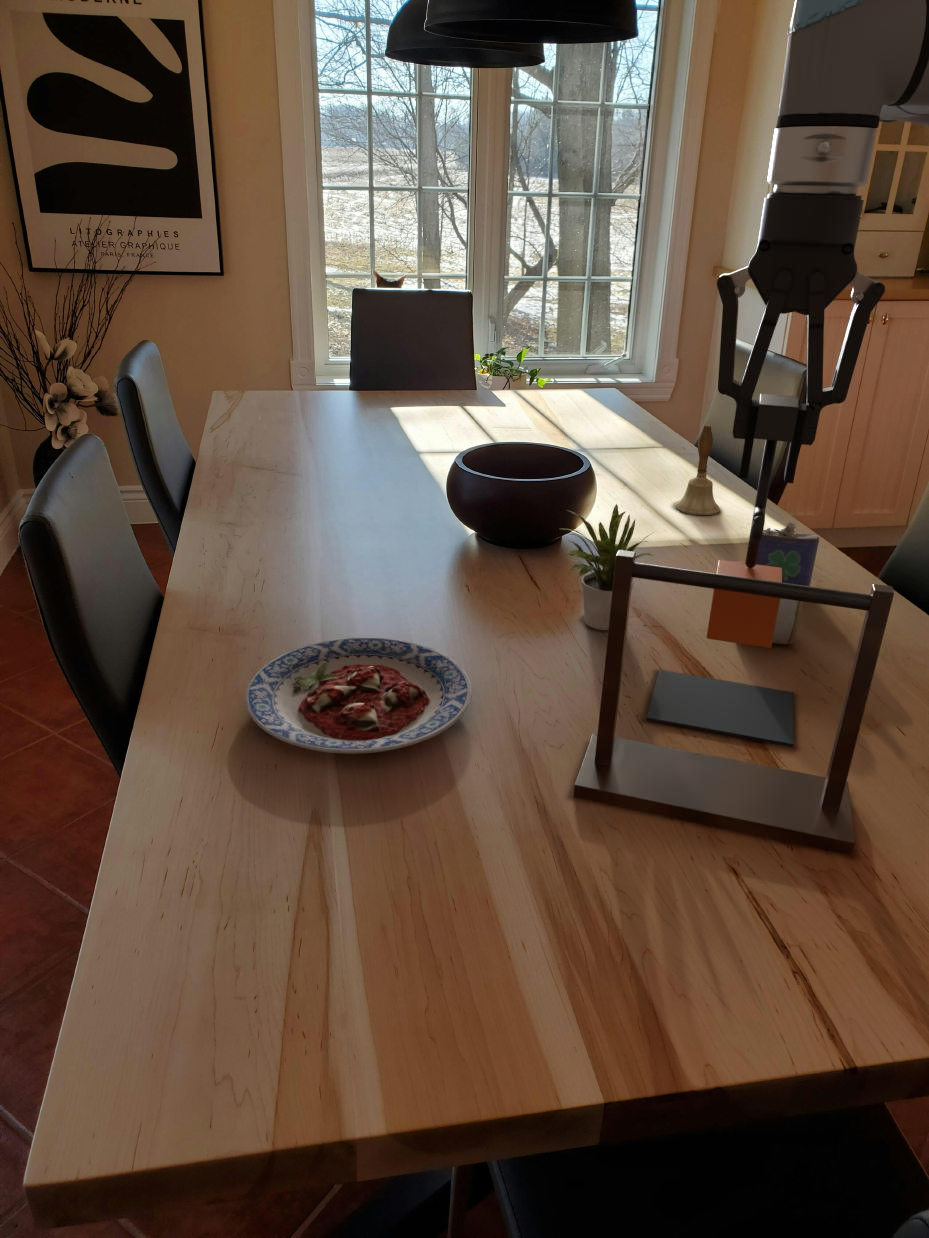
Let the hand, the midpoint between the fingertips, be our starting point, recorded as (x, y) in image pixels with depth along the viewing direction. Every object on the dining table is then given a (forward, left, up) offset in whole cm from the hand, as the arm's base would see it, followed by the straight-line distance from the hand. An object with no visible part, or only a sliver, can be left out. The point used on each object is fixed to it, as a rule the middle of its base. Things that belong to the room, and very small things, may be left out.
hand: (766, 476), depth 82 cm
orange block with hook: (0, 0, -16) cm, 16 cm away
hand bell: (+9, -86, -32) cm, 92 cm away
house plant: (+18, -31, -32) cm, 48 cm away
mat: (0, -12, -31) cm, 34 cm away
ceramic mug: (-4, -34, -32) cm, 47 cm away
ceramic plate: (+40, +2, -32) cm, 51 cm away
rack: (0, +6, -31) cm, 32 cm away
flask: (-6, -51, -32) cm, 60 cm away
